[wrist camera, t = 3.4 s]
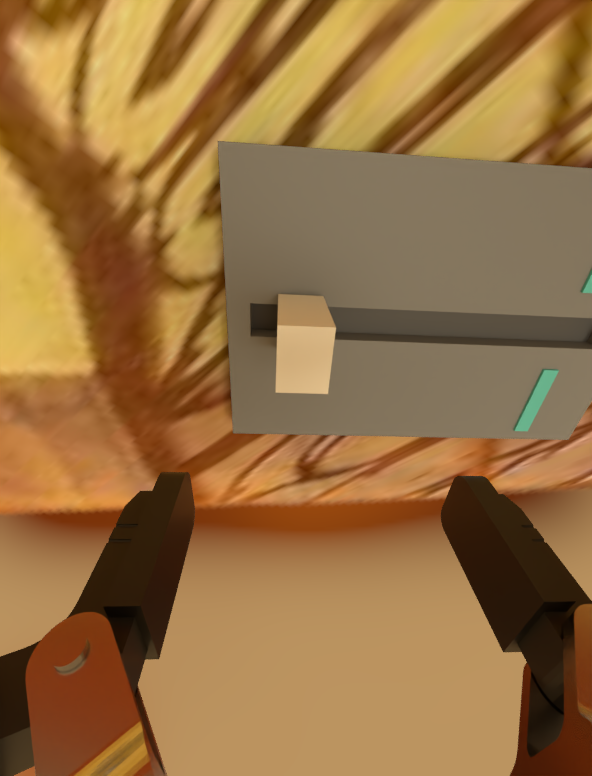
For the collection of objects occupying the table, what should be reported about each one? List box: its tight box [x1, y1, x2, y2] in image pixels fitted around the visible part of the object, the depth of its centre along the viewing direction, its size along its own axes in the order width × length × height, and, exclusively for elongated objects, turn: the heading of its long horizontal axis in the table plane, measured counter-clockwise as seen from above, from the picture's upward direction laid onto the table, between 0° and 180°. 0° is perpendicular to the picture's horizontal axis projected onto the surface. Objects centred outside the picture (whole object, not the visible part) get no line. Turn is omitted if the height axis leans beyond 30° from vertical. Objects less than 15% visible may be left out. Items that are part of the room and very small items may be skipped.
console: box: [218, 141, 592, 440], centre depth 25 cm, size 20×30×3 cm, turn 87°
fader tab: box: [276, 294, 336, 394], centre depth 21 cm, size 4×3×7 cm
